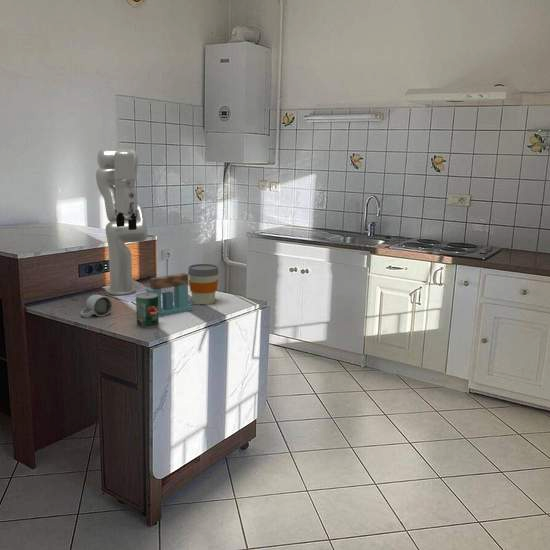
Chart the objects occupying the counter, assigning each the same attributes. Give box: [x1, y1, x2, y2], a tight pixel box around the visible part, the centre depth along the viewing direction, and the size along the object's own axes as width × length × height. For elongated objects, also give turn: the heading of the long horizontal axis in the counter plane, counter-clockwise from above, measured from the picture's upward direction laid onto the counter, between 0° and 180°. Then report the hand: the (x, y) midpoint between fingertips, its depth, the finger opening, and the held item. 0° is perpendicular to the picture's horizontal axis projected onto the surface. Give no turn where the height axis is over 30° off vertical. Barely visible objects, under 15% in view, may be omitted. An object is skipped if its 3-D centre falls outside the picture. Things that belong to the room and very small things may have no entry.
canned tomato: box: [135, 292, 160, 328], centre depth 203 cm, size 8×8×11 cm
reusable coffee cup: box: [187, 263, 219, 306], centre depth 234 cm, size 12×13×15 cm
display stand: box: [145, 284, 193, 317], centre depth 218 cm, size 6×18×10 cm, turn 131°
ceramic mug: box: [80, 294, 113, 318], centre depth 214 cm, size 11×8×8 cm
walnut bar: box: [149, 272, 189, 290], centre depth 217 cm, size 15×3×4 cm, turn 131°
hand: (126, 227), depth 220 cm, fingers open, 9 cm apart
